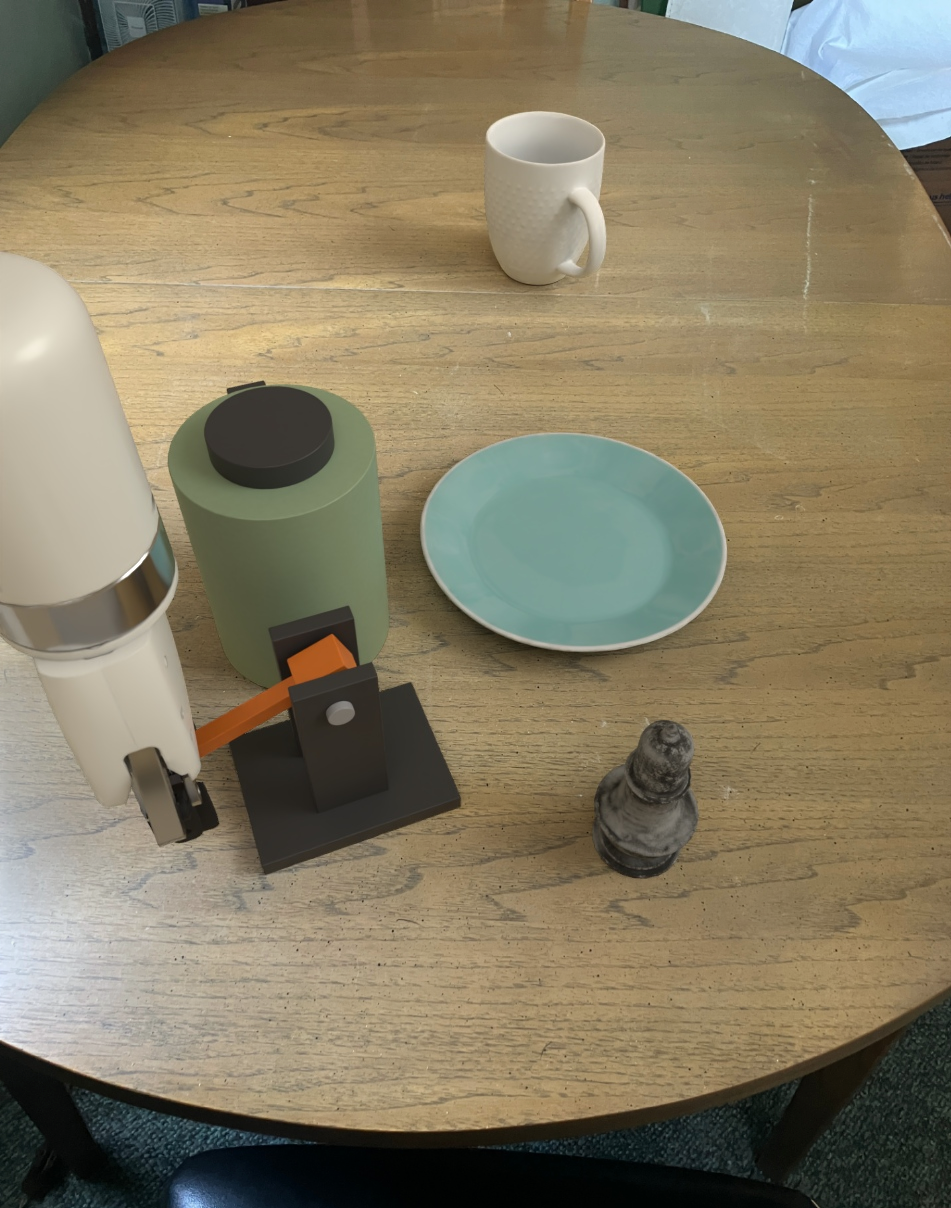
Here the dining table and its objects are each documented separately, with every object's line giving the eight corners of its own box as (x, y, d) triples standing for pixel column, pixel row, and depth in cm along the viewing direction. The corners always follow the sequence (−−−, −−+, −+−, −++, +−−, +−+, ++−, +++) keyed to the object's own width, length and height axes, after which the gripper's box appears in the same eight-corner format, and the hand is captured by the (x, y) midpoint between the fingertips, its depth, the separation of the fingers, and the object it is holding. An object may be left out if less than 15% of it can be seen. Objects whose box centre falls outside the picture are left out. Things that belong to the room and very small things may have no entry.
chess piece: (582, 874, 54) (610, 768, 45) (591, 785, 58) (617, 669, 49) (686, 891, 54) (734, 786, 45) (687, 799, 58) (732, 685, 48)
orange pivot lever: (173, 817, 50) (145, 802, 48) (157, 741, 53) (130, 724, 51) (372, 705, 49) (352, 685, 47) (344, 634, 52) (324, 613, 50)
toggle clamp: (264, 875, 54) (223, 760, 44) (230, 748, 59) (186, 619, 49) (461, 807, 57) (463, 684, 47) (411, 691, 62) (404, 559, 52)
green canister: (241, 714, 61) (182, 520, 47) (200, 569, 69) (139, 368, 55) (412, 663, 64) (401, 466, 50) (353, 529, 72) (331, 328, 58)
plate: (483, 427, 80) (484, 400, 77) (745, 498, 75) (754, 471, 73) (369, 617, 66) (367, 590, 64) (680, 718, 61) (688, 693, 59)
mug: (636, 296, 93) (659, 163, 83) (546, 330, 89) (558, 195, 79) (547, 229, 101) (557, 100, 91) (460, 258, 97) (461, 126, 87)
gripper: (-34, 456, 42) (89, 687, 56) (-8, 767, 32) (135, 955, 46) (136, 417, 44) (215, 651, 58) (211, 701, 34) (285, 901, 48)
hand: (178, 784), depth 52 cm, fingers closed on orange pivot lever, 5 cm apart
